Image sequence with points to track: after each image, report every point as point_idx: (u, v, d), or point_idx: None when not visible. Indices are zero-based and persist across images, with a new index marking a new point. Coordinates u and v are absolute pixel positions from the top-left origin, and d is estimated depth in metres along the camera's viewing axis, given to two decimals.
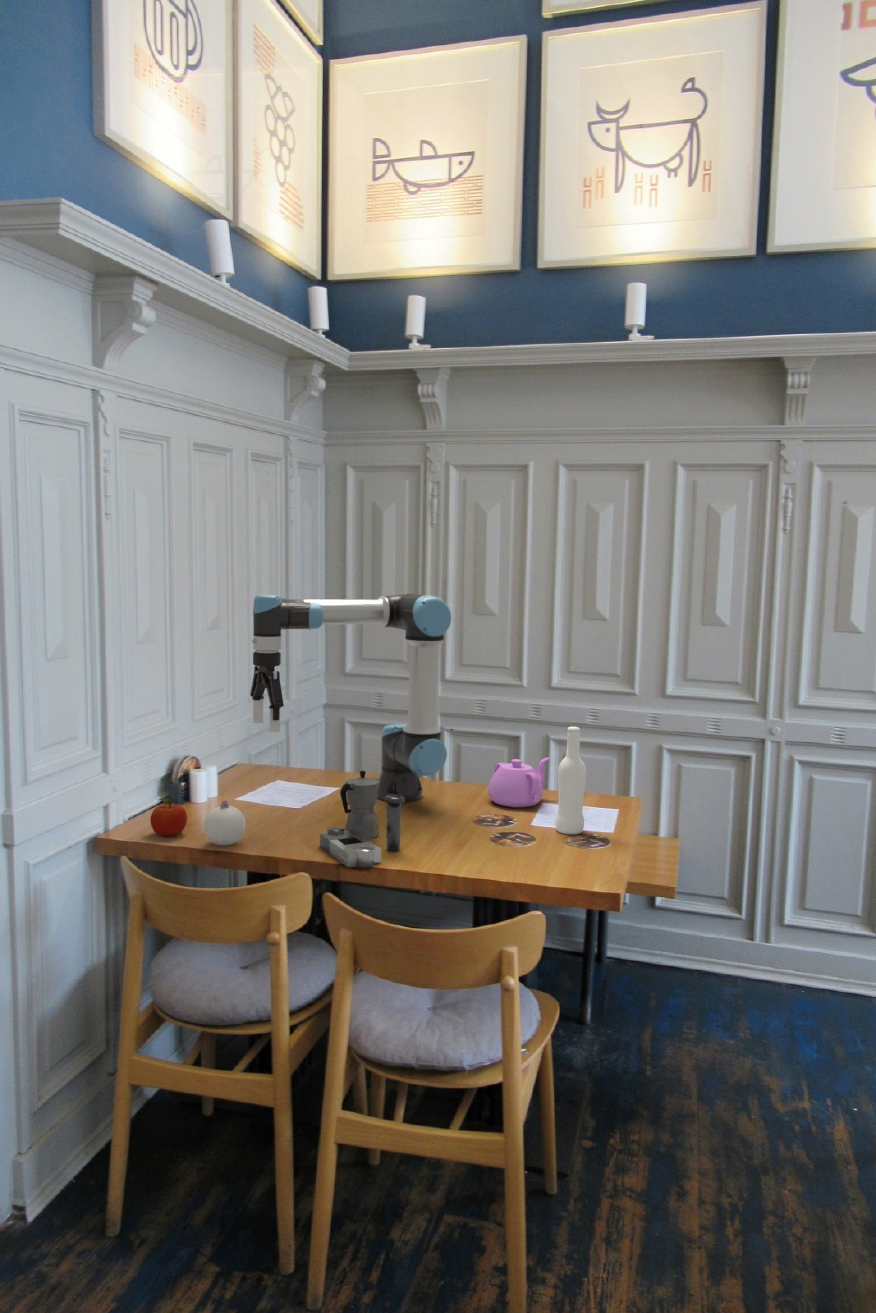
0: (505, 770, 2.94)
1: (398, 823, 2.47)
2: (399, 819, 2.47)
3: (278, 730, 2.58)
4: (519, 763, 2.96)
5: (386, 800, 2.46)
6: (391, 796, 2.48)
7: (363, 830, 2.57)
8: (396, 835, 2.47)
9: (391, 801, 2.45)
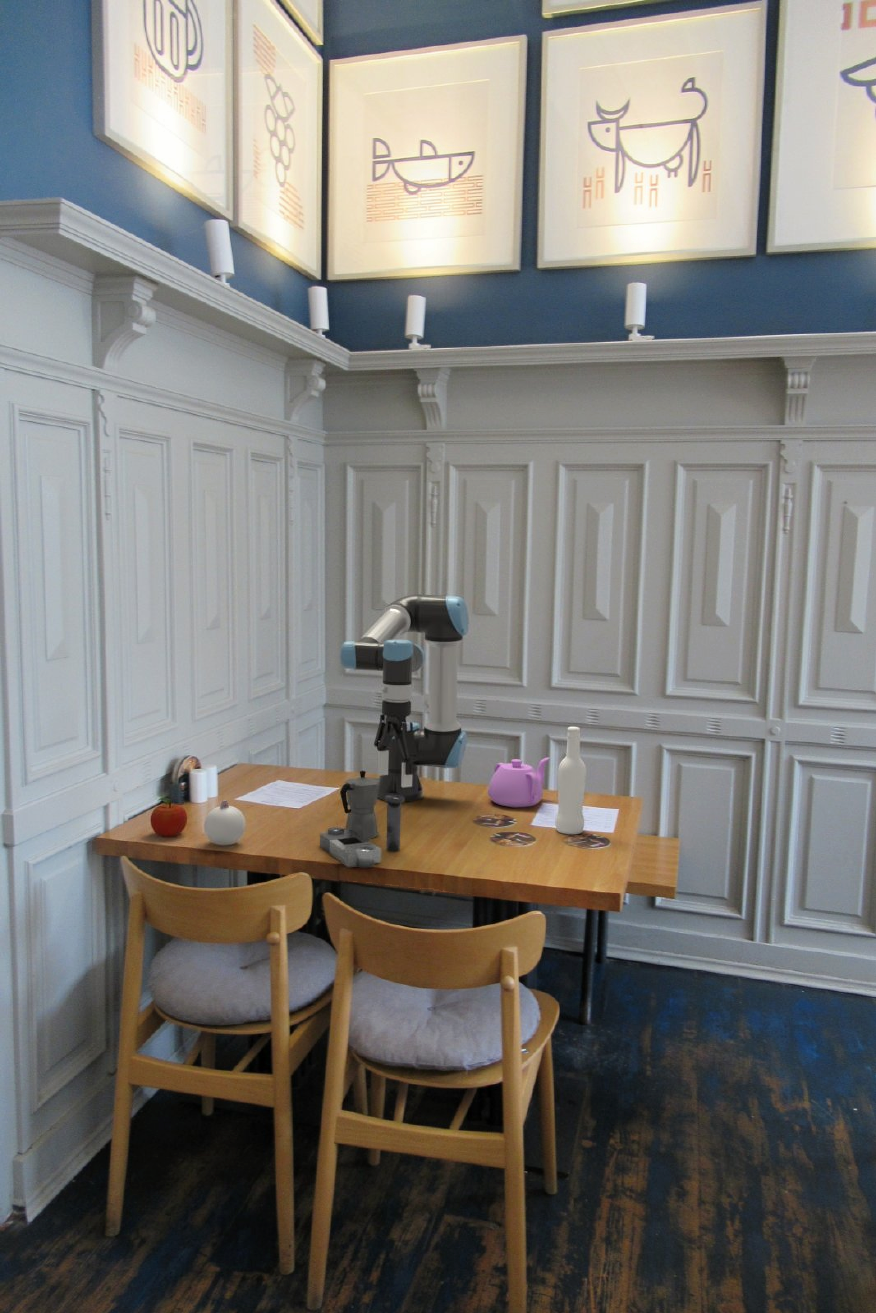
0: (505, 770, 2.94)
1: (398, 823, 2.47)
2: (399, 819, 2.47)
3: (410, 785, 2.41)
4: (519, 763, 2.96)
5: (386, 800, 2.46)
6: (391, 796, 2.48)
7: (363, 830, 2.57)
8: (396, 835, 2.47)
9: (391, 801, 2.45)
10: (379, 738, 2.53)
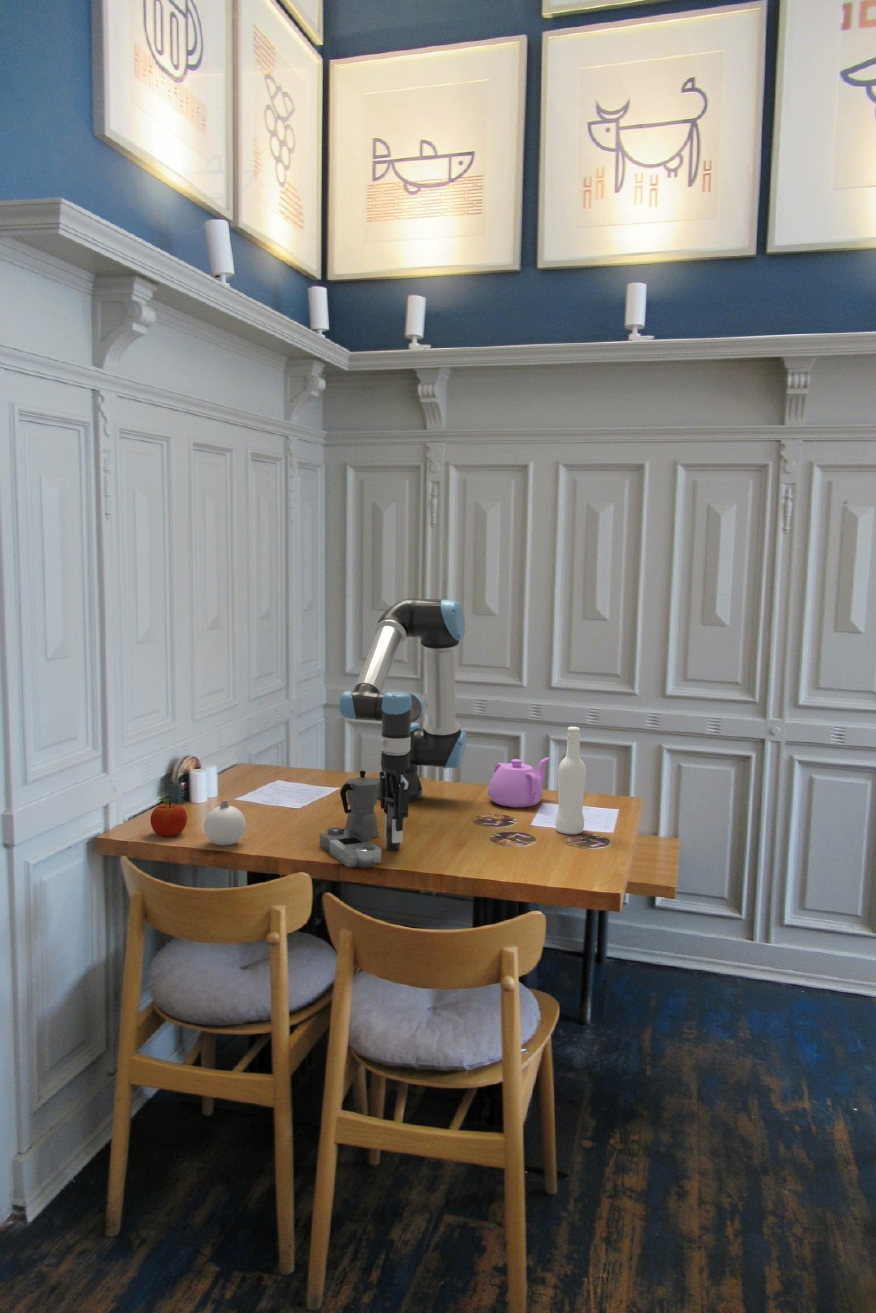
0: (505, 770, 2.94)
1: None
2: None
3: (401, 840, 2.47)
4: (519, 763, 2.96)
5: (386, 800, 2.46)
6: (391, 796, 2.48)
7: (363, 830, 2.57)
8: None
9: (391, 801, 2.45)
10: None
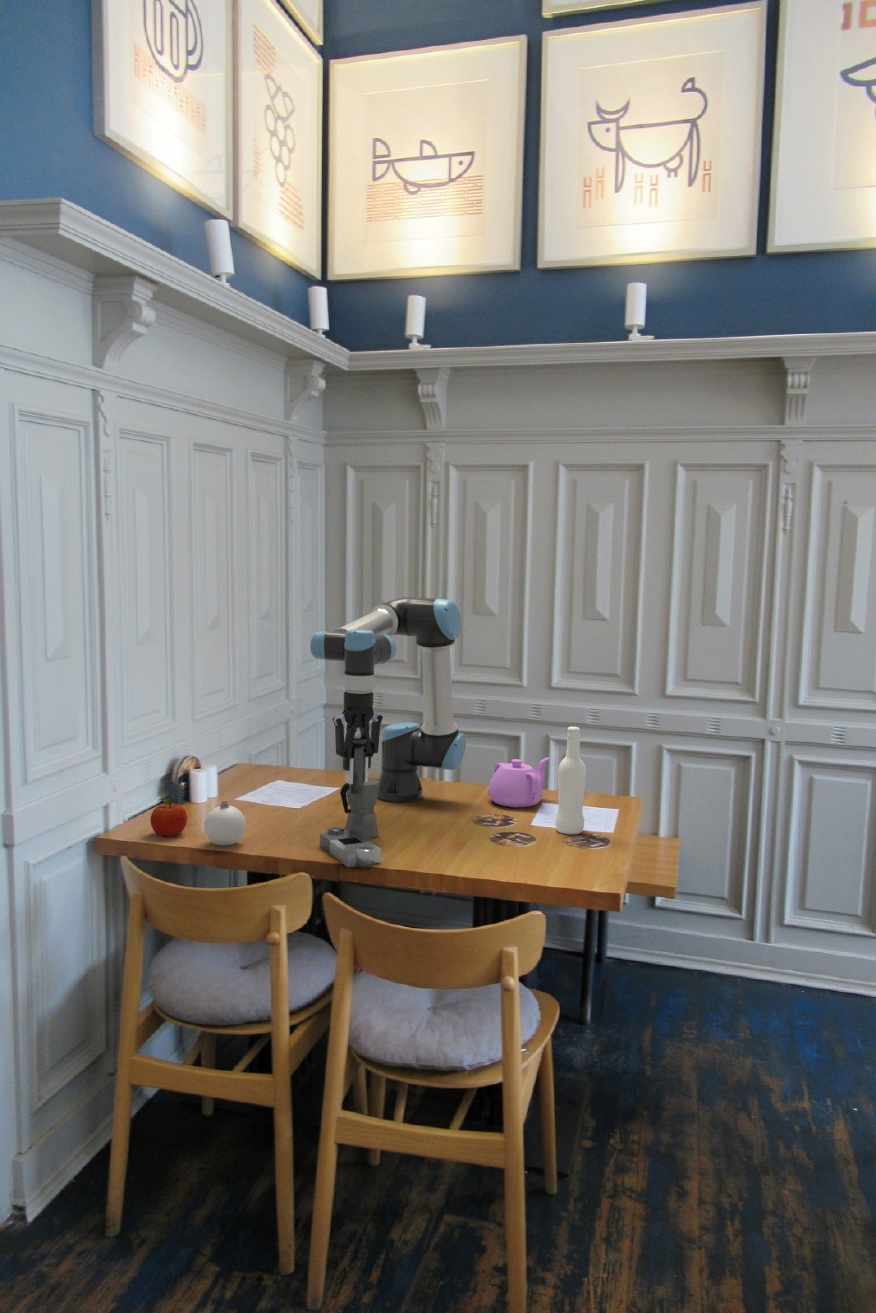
0: (505, 770, 2.94)
1: None
2: (353, 761, 2.40)
3: (349, 782, 2.40)
4: (519, 763, 2.96)
5: None
6: (360, 737, 2.42)
7: (363, 830, 2.57)
8: None
9: None
10: (371, 740, 2.44)
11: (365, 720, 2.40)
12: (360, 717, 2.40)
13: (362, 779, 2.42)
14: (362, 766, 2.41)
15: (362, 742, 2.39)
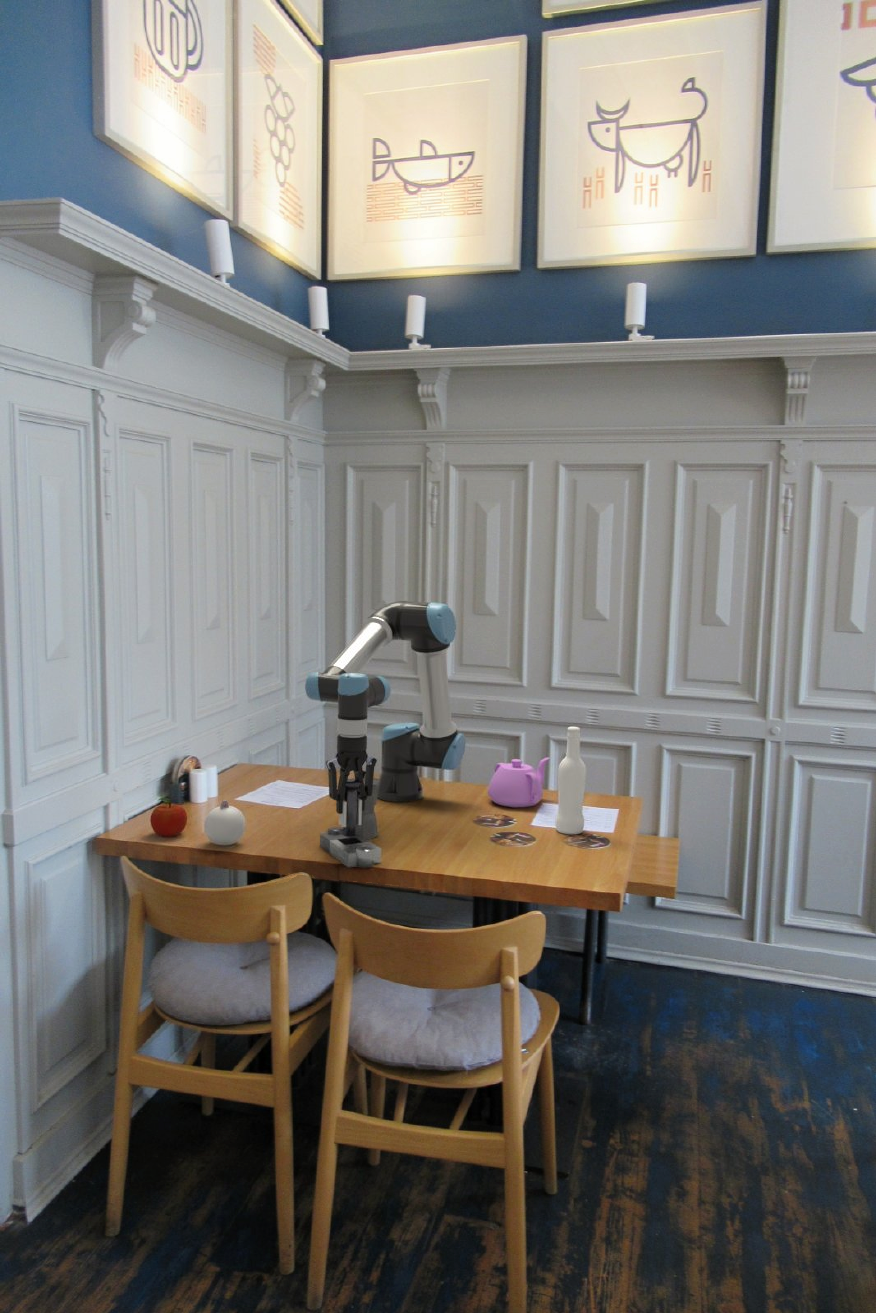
0: (505, 770, 2.94)
1: None
2: None
3: (342, 825, 2.41)
4: (519, 763, 2.96)
5: None
6: (354, 780, 2.43)
7: (363, 830, 2.57)
8: None
9: None
10: (365, 783, 2.45)
11: (358, 763, 2.40)
12: (353, 760, 2.40)
13: (355, 822, 2.42)
14: (355, 809, 2.42)
15: (355, 786, 2.40)
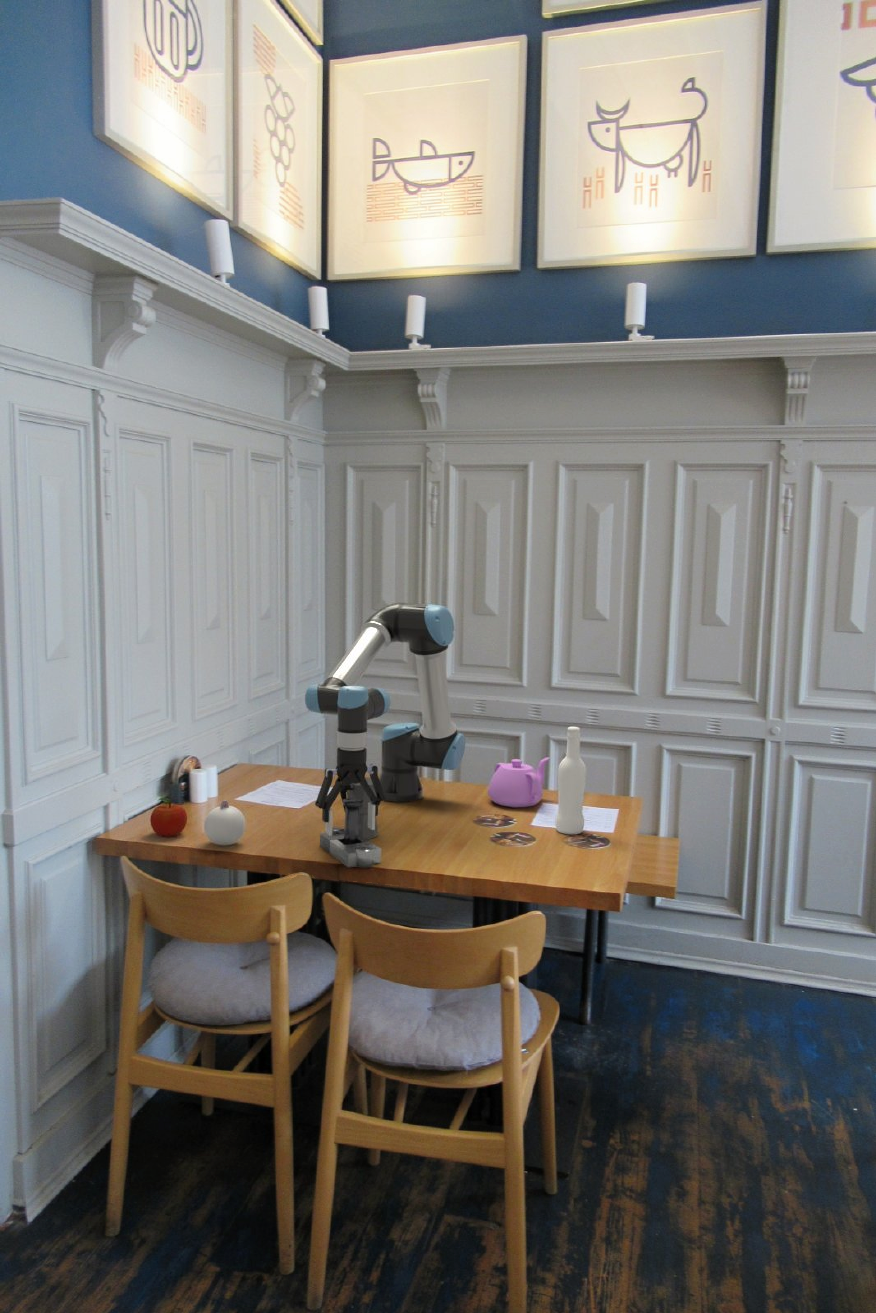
0: (505, 770, 2.94)
1: (346, 827, 2.42)
2: (347, 823, 2.42)
3: (328, 833, 2.40)
4: (519, 763, 2.96)
5: None
6: (355, 800, 2.44)
7: (363, 830, 2.57)
8: (344, 839, 2.43)
9: None
10: (375, 790, 2.47)
11: (359, 776, 2.41)
12: (353, 773, 2.41)
13: (356, 841, 2.43)
14: (356, 829, 2.43)
15: (357, 805, 2.41)
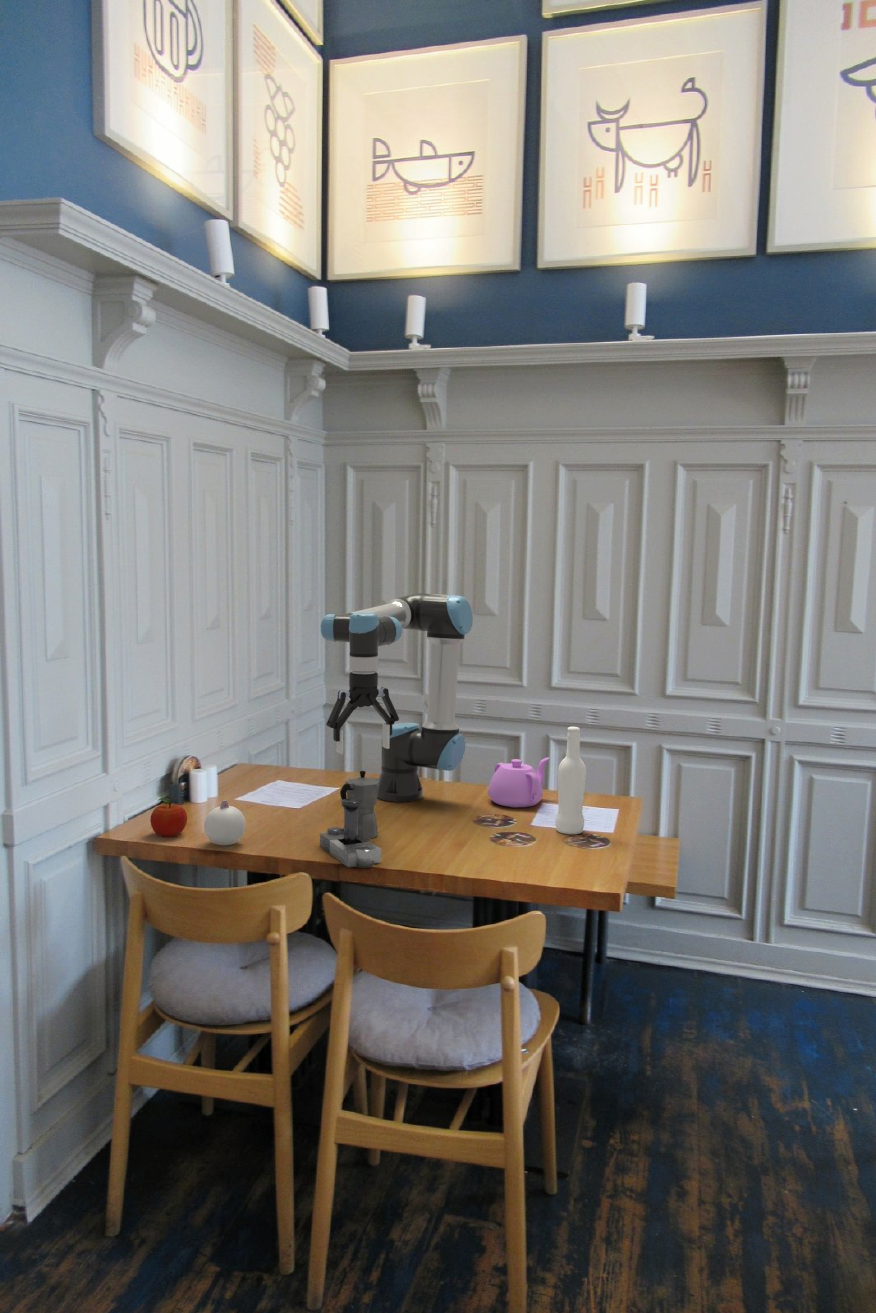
0: (505, 770, 2.94)
1: (345, 827, 2.42)
2: (346, 824, 2.42)
3: (340, 752, 2.49)
4: (519, 763, 2.96)
5: None
6: (354, 800, 2.44)
7: (363, 830, 2.57)
8: (344, 839, 2.43)
9: None
10: (388, 711, 2.56)
11: (371, 699, 2.50)
12: (365, 696, 2.50)
13: (356, 842, 2.43)
14: (356, 829, 2.42)
15: (355, 806, 2.41)
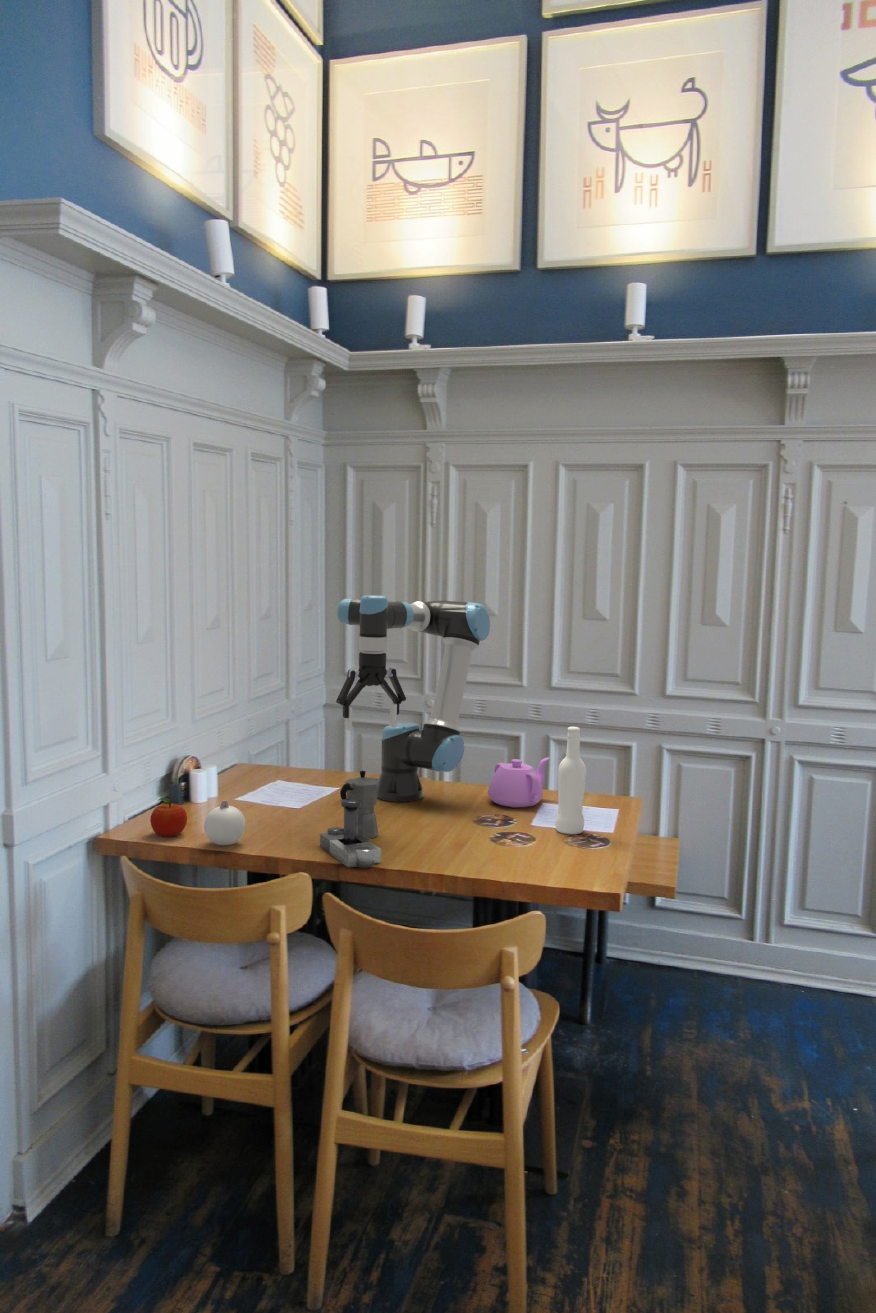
0: (505, 770, 2.94)
1: (345, 827, 2.42)
2: (346, 824, 2.42)
3: (348, 729, 2.59)
4: (519, 763, 2.96)
5: None
6: (354, 800, 2.43)
7: (363, 830, 2.57)
8: (344, 839, 2.43)
9: None
10: (396, 691, 2.67)
11: (380, 678, 2.61)
12: (374, 676, 2.61)
13: (355, 842, 2.43)
14: (355, 829, 2.42)
15: (355, 806, 2.41)
